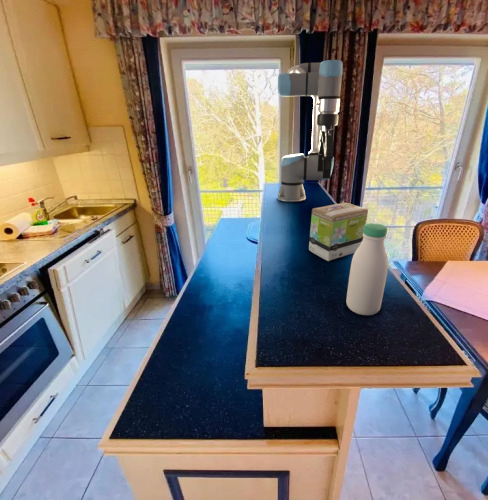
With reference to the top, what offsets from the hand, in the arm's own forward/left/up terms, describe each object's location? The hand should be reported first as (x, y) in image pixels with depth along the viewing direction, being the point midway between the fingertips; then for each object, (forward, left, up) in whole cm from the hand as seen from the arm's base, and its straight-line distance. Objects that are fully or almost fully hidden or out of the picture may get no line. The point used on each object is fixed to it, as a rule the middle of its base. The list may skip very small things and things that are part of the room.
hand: (323, 174), depth 107 cm
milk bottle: (+56, +3, -21) cm, 59 cm away
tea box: (+26, +2, -21) cm, 33 cm away
